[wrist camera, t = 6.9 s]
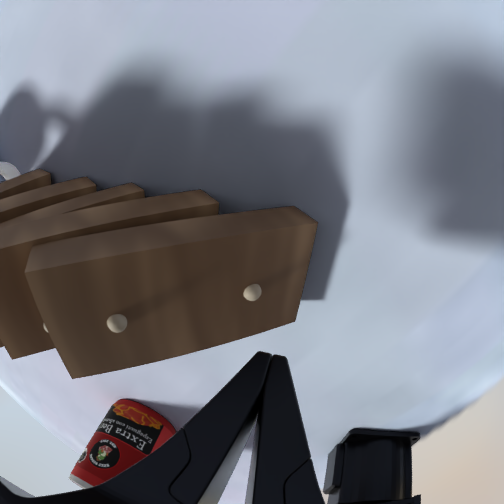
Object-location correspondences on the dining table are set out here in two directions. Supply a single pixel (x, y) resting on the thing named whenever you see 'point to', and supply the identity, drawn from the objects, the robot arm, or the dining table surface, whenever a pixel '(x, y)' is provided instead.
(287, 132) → the dining table surface
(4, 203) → the tile
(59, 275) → the tile
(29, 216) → the tile
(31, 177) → the tile
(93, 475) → the canned food
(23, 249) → the tile
